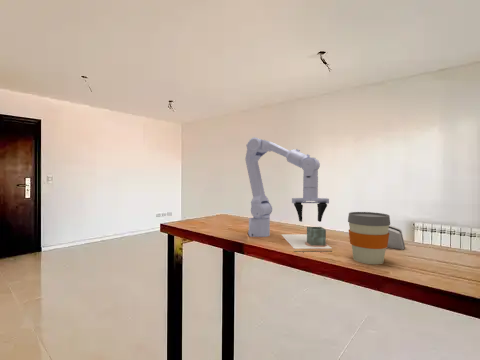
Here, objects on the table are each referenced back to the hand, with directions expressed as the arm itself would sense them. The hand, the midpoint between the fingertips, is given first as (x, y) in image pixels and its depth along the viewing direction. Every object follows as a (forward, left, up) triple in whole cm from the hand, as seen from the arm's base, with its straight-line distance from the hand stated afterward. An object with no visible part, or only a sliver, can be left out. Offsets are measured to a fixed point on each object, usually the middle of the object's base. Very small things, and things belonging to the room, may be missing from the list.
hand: (310, 221), depth 108 cm
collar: (+1, -5, -8) cm, 9 cm away
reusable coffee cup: (+13, -21, -10) cm, 26 cm away
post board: (-2, +1, -9) cm, 10 cm away
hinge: (+28, -2, -10) cm, 29 cm away
